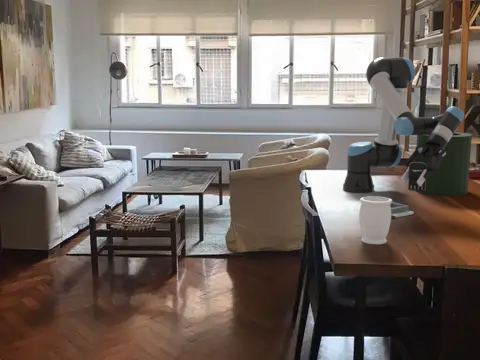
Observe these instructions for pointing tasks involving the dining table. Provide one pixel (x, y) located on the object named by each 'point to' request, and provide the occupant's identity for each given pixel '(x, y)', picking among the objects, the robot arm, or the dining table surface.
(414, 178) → the black rounded block
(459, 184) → the flower pot
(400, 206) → the panel board
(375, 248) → the dining table surface
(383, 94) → the robot arm
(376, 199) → the jar
